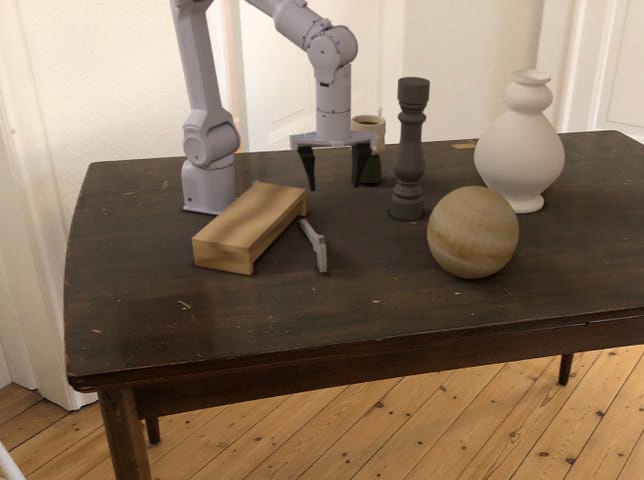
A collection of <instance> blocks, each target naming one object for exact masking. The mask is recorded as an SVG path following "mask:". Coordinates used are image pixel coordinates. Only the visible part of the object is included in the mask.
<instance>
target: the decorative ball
mask: <svg viewBox="0 0 644 480" xmlns="http://www.w3.org/2000/svg"><path fill="white" fill-rule="evenodd" d="M426 232H427V233H426V238H427V243H428V247H429V250H430V252H431V255H432V257H433V259H435V261H436V262H437V264H438V265H439V266H440V267H441V268H442V269H444V270H445V271H447V272H448V273H449V274H450V275H453V276H455V277H458V278H461V279H471V280H477V279H483V278H486V277H487V278H488V277H489V276H491V275H494V274H495V273H497V272H499V271H500V270H501V269H503V268H504V267H505V266H506V265H507V264H508V263H509V261H510V260H511V259H512V257H513V256H514V253H515V252H516V249H517V246H518V244H519V240H520V226H519V219H518V217H517V213H515V211H514V210H513V208H512V206H511V205H510V203H509V202H508V201H507V200H506V199H505V198H504V197H503V196H502V195H501V194H499V193H497V192H496V191H494V190H492V189H489V188H488V187H486V186H481V185H468V186H462V187H459V188H456V189H453V190H452V191H450V192H449V193H447V194H446V195H444V196H443V197H442V198H441V199H440V200H439V201H438V202H437V204H436V205H435V207H434V208H433V209H432V211H431V214H430V216H429V218H428V223H427V231H426Z"/></svg>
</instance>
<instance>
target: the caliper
mask: <svg viewBox="0 0 644 480" xmlns="http://www.w3.org/2000/svg"><path fill="white" fill-rule="evenodd" d="M299 224H300V228H301V229H302V231H303V232H304V233H305V235H306V237H307V238H308V240H309V241H310V243H311V244H312V250H313V251H314V252H315V253H316V258H317V268H318V271H320V273H321V274H323V273H327V272H328V261H327V260H328V259H327V245H326V237H325V236H324V234H319V233H316V231H315V230H314V228H313V227H312V226H311V224H310V223H309V221H308V220H307V219H306V218H305V219H300V220H299Z"/></svg>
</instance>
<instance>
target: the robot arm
mask: <svg viewBox="0 0 644 480" xmlns="http://www.w3.org/2000/svg"><path fill="white" fill-rule="evenodd" d="M214 1H215V0H169V6H170V12H171V16H172V17H171V18H172V21H173V26H174V32H175V36H176V42H177V45H178V51H179V52H178V53H179V57H180V61H181V67H182V71H183V76H184V81H185V87H186V91H187V97H188V101H189V108H190V111H189V113H188V115H187V117H186V119H185V120H184V121H183V124H182V130H183V139H182V149H183V152H184V155H185V158H187V159H186V160H184V163H183V164H182V168H181V174H180V175H181V185H182V193H183V194H182V195H183V201H184V206H183V207H182V209H183V210H184V211H189V212H195V213H201V214H208V215H214V216H218V215H219V214H220V213H222V212H223V211H224V210H225V209H226V208H227V207H229V206H230V205H231V204H232V203H233V202H234V201H235V200H237V199H238V198H239V197H238V195H237V184H236V173H235V161H234V160H235V159H236V152H237V151H239V149H240V146H241V142H242V141H241V135H240V132H239V130H238V129H237V127H236V124H235V121H234V116H233V114H232V113H231V112H230V111H228V110H227V109H225V108H224V107H223V105H222V104H223V103H222V98H221V94H220V93H221V92H220V86H219V81H218V76H217V71H216V70H217V69H216V63H215V59H214V53H213V47H212V40H211V36H210V35H211V34H210V30H209V25H208V20H207V11H208V10H209V8H210V7H211V6H212V5H213V4H212V3H214ZM244 1H245V2H246V3H248V4H250V5H251V6H252V7H254V8H256V9H257V10H259V11H260V12H262V13H263V14H265V15H267V16H268V17H269V18H271V19H273V25H274V28H275V31H276V32H277V33H279V34H280V35H281V36H282V37H284V38H286V39H287V40H288V41H290V42H291V43H292V44H294V46H296V47H298V48H299V49H300V50H302V51H303V52H304V53H306V54H307V58H308V61H309V63H310V64H311V66H312V69H313V77H314V78H315V79H314V80H315V83H314V84H315V85H314V86H315V131H310V132H304V133H297V134H289V136H288V137H289V139H288V140H289V148H290V151H296V152H297V154H298V156H299V158H300V160H301V163H302V165H303V168H304V172H305V174H306V178H307V183H308V188H309V190H310V192H316V178H315V167H316V166H315V165H316V156H315V154H314V150H313V149H317V148H319V149H320V148H343V147H350V148H351V147H352V150H351V163H352V164H351V165H352V166H351V168H352V169H351V185H352V186H353V188H354V189H358V188H359V187H360V184H361V183H360V179H361V175H362V172H363V170H364V167H365V165H366V163H367V161H368V160H369V158H370V157H371V154H372V149H371V147H370V146H377V134H376V133H375V132H374V131H356V130H351V119H352V63H353V62H354V61H355V60H356V58H357V56H358V52H359V43H358V39H357V37H356V35H355V34H354V33H353V31H352V30H350V29H349V27H348V26H347V25H343V24H337V25H334V24H332V21H331V19H329V18H328V17H322V15H320V14H318V13H317V12H316V11H314V10H313V9H311V8H310V7H309V6H308V5H309V2H308V1H307V0H244ZM359 189H360V188H359Z"/></svg>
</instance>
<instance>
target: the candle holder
mask: <svg viewBox="0 0 644 480" xmlns="http://www.w3.org/2000/svg"><path fill="white" fill-rule="evenodd" d="M430 89H431V81H430V80H429V79H427V78H424V77H417V76H405V77H400V78H399V79H398V80H397V93H396V94H397V96H396V99H397V101H398V105H399V107H400V110H401V111H400V112H399V113H398V114H397V120H398V121H399V122H400V138H399V142H398V146H397V149H396V153H395V157H394V160H393V164H392V170H393V173H394V175H395V177H396V181H397V183H396V184H395V186H394V187H393V189H392V193H393V194H391V198H390V215H391V216H392V217H393V218H395V219H398V220H403V221H414V220H418V219H421V218H422V217H423V211H424V210H423V209H424V196H423V192H424V190H423V187H421V185H420V184H419V183H420V182H421V179H422V177H423V176H424V174H425V172H426V160H425V155H424V148H423V142H422V136H423V135H422V133H423V125H424V123H425V122H426V120H427V115H426V114H425V113H424V112H425V109H426V108H427V106H428V102H429V101H430V91H431V90H430Z"/></svg>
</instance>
